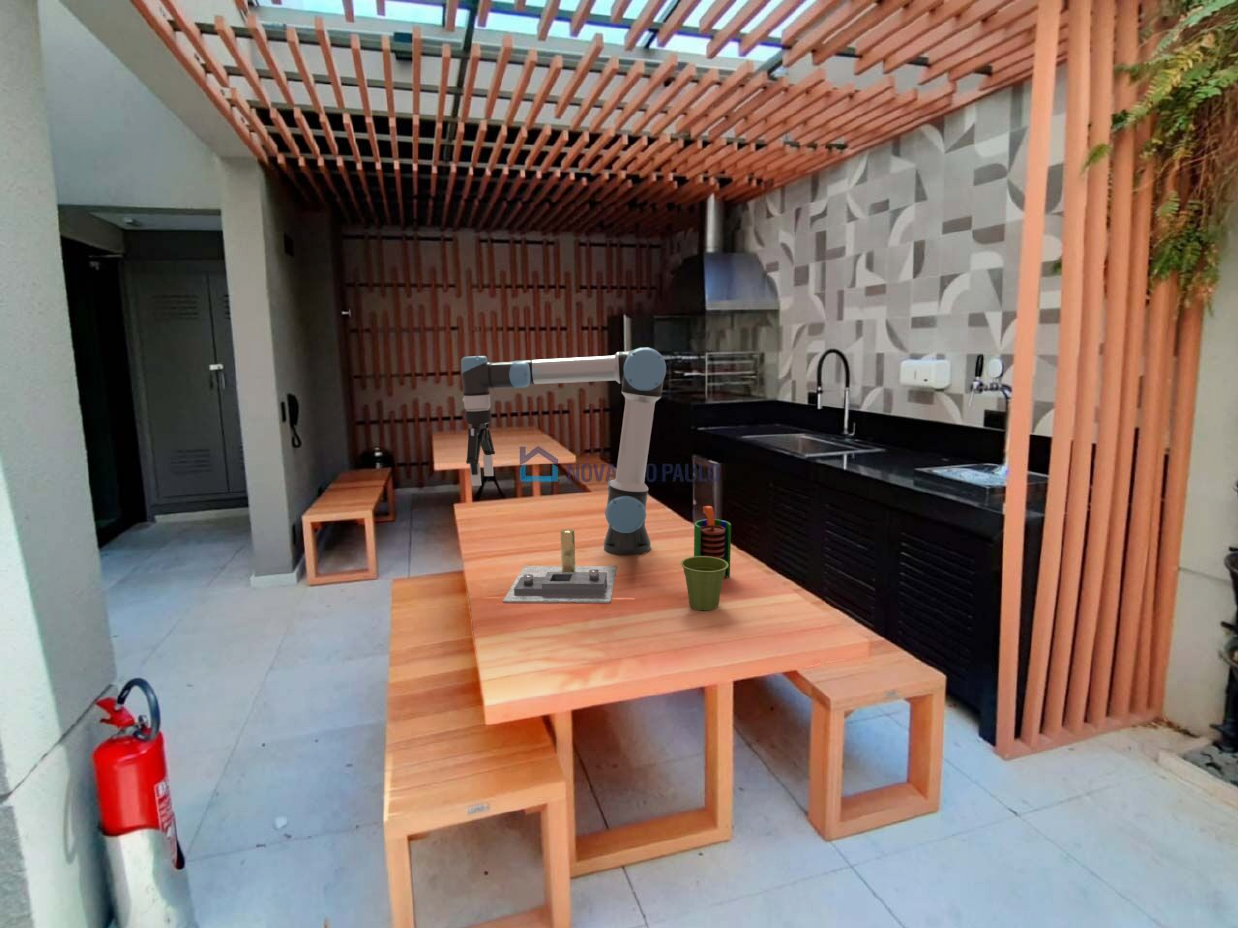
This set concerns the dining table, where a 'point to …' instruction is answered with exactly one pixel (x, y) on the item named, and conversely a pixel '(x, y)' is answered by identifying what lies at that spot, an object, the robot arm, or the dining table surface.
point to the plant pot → (704, 580)
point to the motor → (713, 538)
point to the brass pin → (568, 550)
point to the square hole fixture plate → (563, 585)
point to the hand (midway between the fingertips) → (482, 480)
